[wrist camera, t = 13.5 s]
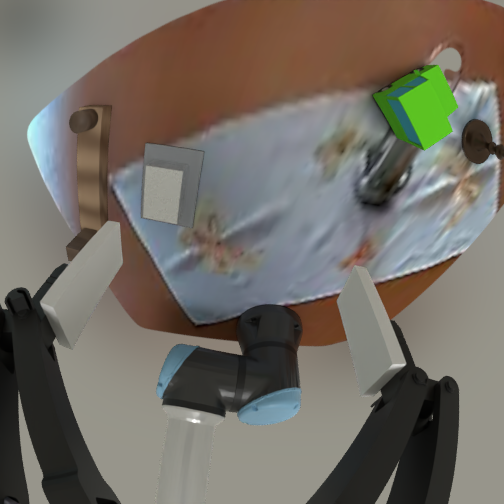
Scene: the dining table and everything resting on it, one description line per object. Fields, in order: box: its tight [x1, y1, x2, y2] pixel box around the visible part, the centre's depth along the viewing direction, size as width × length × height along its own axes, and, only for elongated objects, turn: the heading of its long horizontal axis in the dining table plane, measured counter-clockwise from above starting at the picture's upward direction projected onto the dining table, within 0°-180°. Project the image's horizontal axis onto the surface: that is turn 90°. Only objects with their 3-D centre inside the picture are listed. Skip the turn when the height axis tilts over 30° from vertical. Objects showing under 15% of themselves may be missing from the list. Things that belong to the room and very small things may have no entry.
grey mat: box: [141, 143, 204, 228], centre depth 43 cm, size 14×10×1 cm
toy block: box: [373, 65, 458, 151], centre depth 29 cm, size 10×13×10 cm
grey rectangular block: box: [143, 159, 190, 224], centre depth 42 cm, size 9×6×4 cm, turn 167°
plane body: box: [66, 105, 112, 261], centre depth 38 cm, size 26×5×10 cm, turn 167°
